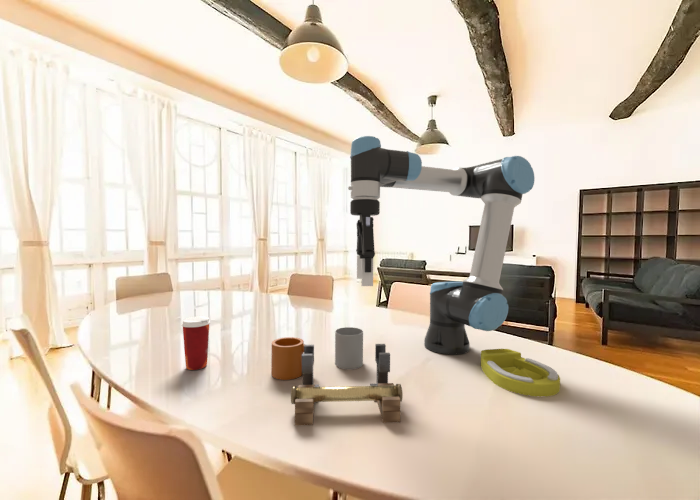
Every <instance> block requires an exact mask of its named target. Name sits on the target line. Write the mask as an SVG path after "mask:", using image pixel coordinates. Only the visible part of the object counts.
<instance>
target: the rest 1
mask: <svg viewBox="0 0 700 500" xmlns="http://www.w3.org/2000/svg"><path fill="white" fill-rule="evenodd" d="M315 385H316V384H313V385H303V384H298V386H297V387H315ZM315 403H316V402H313V399H295V404H294V426H295V427H296V426H297V427H298V426H313V425H314V424H313V423H314V415H315V405H316V404H315Z"/></svg>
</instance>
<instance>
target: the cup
mask: <svg viewBox="0 0 700 500" xmlns="http://www.w3.org/2000/svg"><path fill="white" fill-rule="evenodd" d="M334 333H335V334H334V339H335V340H334V365H335V366H336V367H337V368H338V369H342V370H356V369H359V368H361V367H363V364H364V330H363V329H362V328H359V327H350V326H348V327H347V326H345V327H340V328H337V329H335V331H334Z"/></svg>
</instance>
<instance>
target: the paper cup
mask: <svg viewBox="0 0 700 500" xmlns="http://www.w3.org/2000/svg"><path fill="white" fill-rule="evenodd" d="M210 324H211V320H210V317H209V316H203V315H202V316H200V315H199V316H198V315H197V316H192V317H191V316H190V317H187V318H185V319H183V320H182V323H181V327H182V336H183V348H184V361H185V368H186V370H189V371H197V370H201V369H203V368H206V367H207V366H208V358H209V357H208V354H209V335H210Z"/></svg>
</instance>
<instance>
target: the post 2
mask: <svg viewBox="0 0 700 500" xmlns="http://www.w3.org/2000/svg"><path fill="white" fill-rule="evenodd" d="M386 347H387V345H386V343H375V351H374V357H375V359H374V361H375V363H376V383H369V386H378V383H389V373H390V372H391V352H386V350H387V348H386Z"/></svg>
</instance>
